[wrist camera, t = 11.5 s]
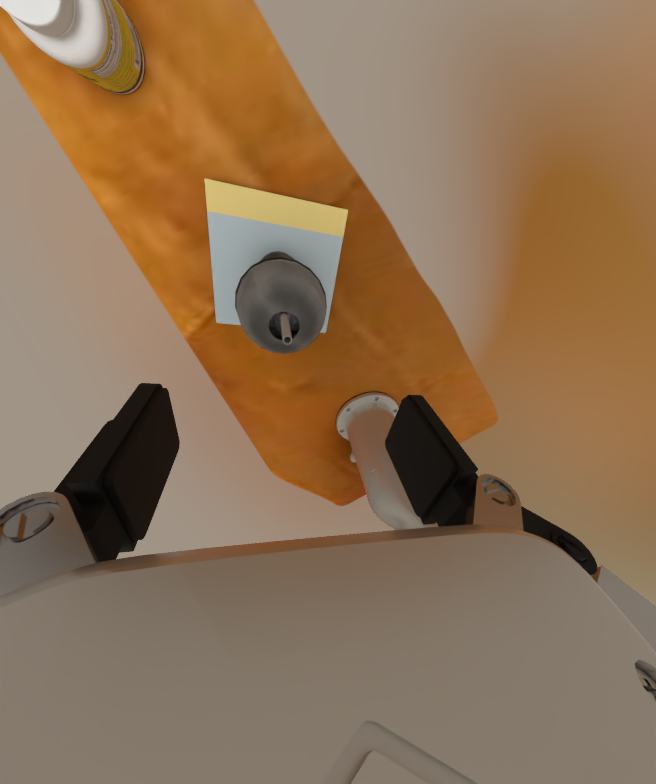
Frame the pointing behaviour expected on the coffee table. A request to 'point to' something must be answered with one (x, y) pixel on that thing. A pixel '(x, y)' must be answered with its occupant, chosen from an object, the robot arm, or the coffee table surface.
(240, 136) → the coffee table surface
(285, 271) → the beverage cup
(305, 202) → the plate
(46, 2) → the supplement bottle
